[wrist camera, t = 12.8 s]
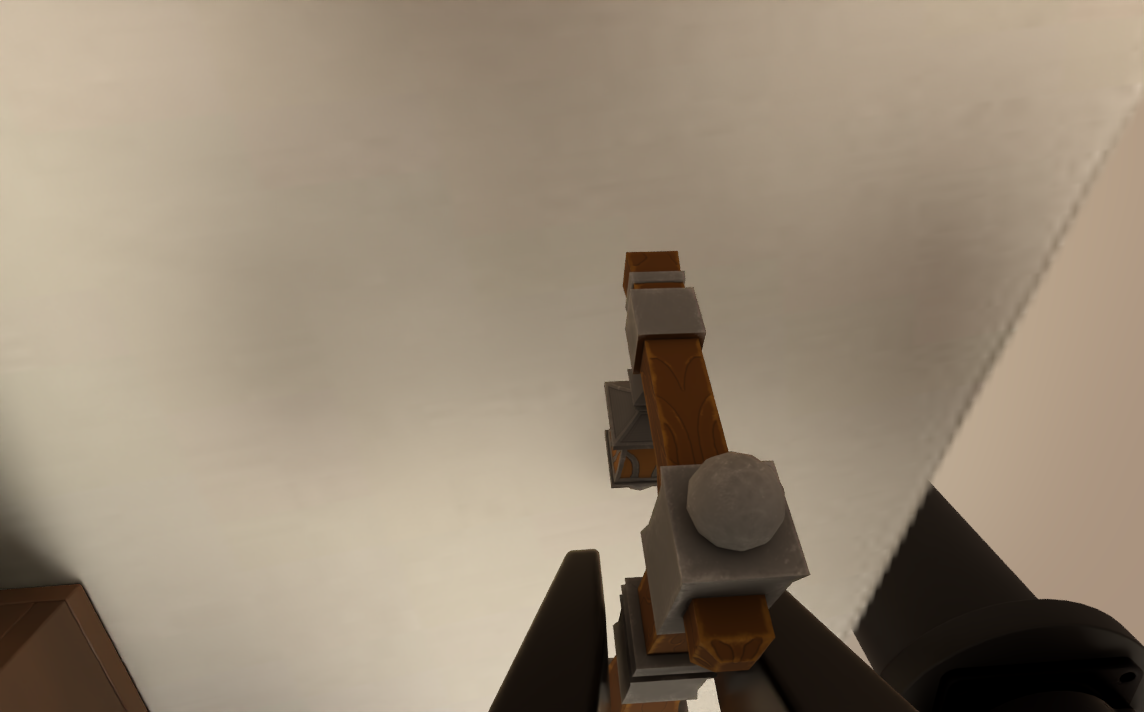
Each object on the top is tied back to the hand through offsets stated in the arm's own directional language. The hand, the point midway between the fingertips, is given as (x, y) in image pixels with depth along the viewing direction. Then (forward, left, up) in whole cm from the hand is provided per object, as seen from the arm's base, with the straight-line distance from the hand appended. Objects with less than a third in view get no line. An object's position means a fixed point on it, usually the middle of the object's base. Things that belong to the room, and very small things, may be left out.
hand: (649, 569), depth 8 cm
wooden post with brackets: (0, 0, -2) cm, 2 cm away
